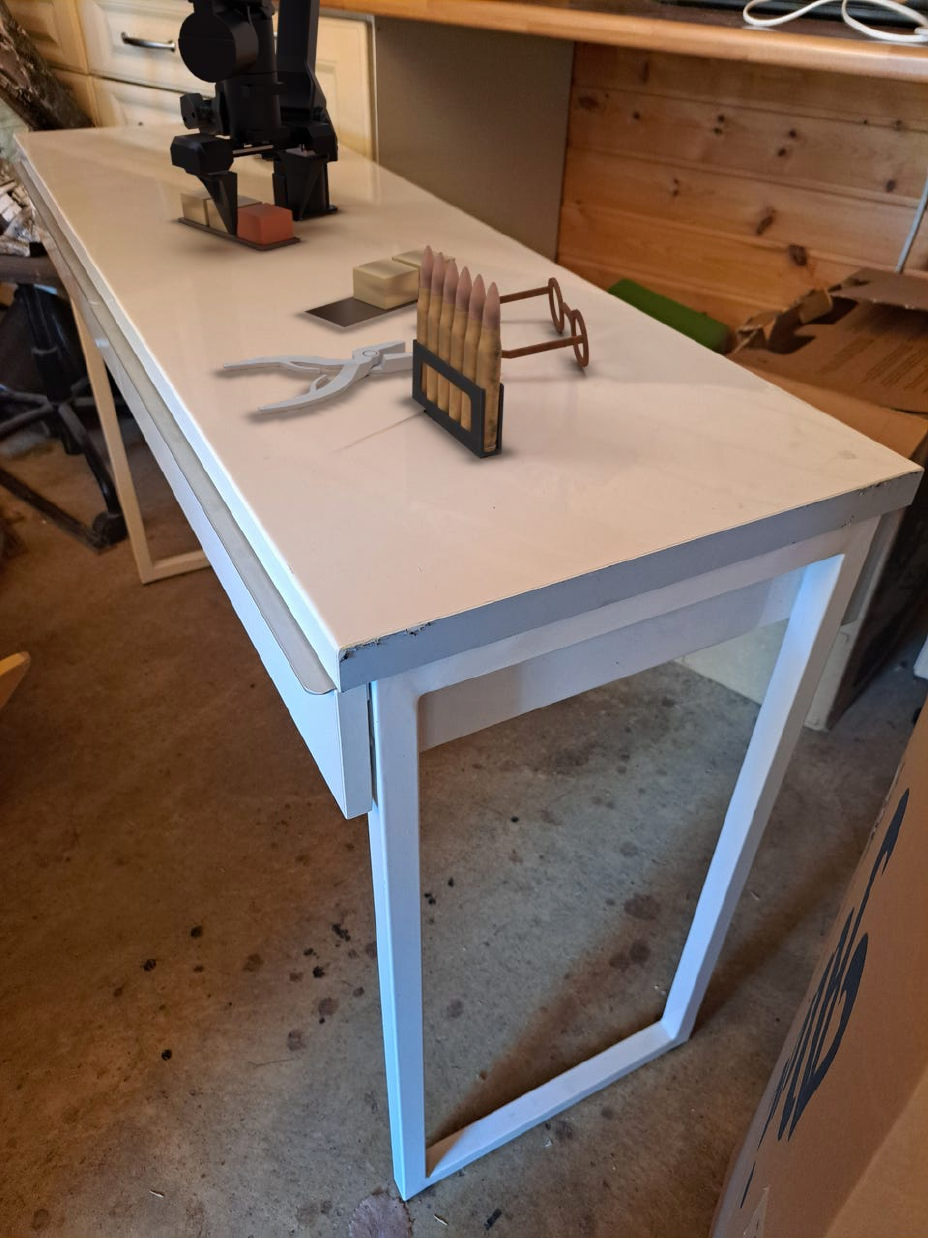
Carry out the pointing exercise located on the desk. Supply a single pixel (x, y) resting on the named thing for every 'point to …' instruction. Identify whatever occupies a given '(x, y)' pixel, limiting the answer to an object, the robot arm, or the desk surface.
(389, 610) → the desk surface
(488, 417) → the ammunition clip
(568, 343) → the glasses
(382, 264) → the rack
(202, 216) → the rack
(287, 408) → the pliers
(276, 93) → the robot arm
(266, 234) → the red block
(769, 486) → the desk surface
